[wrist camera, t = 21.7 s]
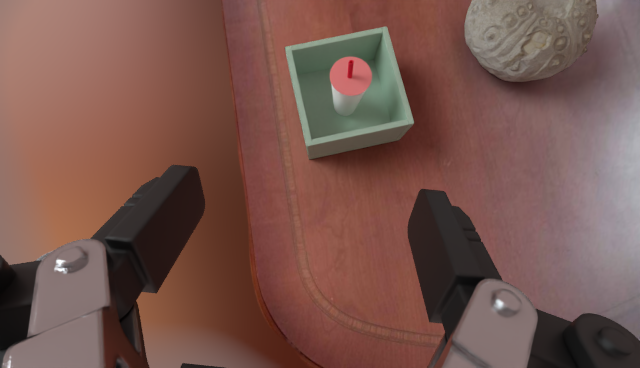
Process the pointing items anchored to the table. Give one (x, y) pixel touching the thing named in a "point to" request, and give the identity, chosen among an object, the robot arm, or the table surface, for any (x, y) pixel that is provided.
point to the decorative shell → (529, 35)
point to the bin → (374, 107)
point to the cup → (349, 83)
